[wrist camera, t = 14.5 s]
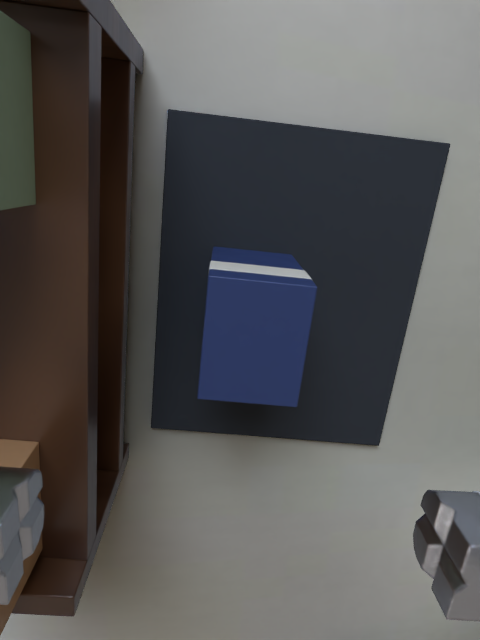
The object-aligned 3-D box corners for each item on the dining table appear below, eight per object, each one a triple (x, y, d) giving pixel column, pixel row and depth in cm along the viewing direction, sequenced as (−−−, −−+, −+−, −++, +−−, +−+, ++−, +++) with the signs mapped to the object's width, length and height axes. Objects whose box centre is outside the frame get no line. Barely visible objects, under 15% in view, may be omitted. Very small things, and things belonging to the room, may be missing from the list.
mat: (151, 424, 31) (150, 428, 31) (168, 110, 25) (167, 109, 24) (377, 442, 32) (378, 445, 32) (447, 144, 26) (450, 143, 25)
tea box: (204, 339, 29) (196, 399, 21) (212, 245, 27) (207, 274, 19) (278, 346, 29) (297, 408, 21) (292, 254, 27) (318, 286, 20)
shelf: (-17, 447, 31) (-156, 605, 20) (-51, 24, 23) (-317, -119, 12) (128, 457, 32) (74, 617, 20) (143, 49, 24) (68, -63, 12)
